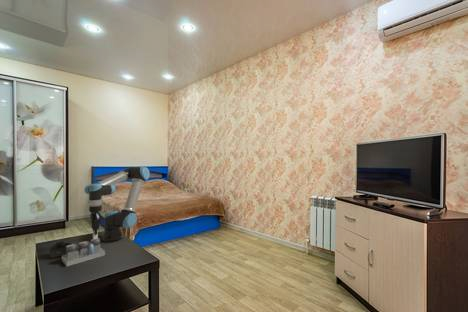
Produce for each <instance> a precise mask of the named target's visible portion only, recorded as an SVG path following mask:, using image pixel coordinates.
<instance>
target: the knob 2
mask: <svg viewBox="0 0 468 312" xmlns="http://www.w3.org/2000/svg"><path fill="white" fill-rule="evenodd" d="M99 243H100V244H101V238H100V237H98V239H94V240H93V238H92V239H90V244H93V245H97V244H99Z"/></svg>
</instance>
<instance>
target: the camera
mask: <svg viewBox="0 0 468 312" xmlns="http://www.w3.org/2000/svg"><path fill="white" fill-rule="evenodd" d="M70 244H73V242H68V241H66V242H65V241H63V240H58V241H56V242H55V244H54V245H52V246H51V247H50V249H49V258H51V259H53V258H58V257H59V258H60V257H62V255H66V246H68V245H70Z"/></svg>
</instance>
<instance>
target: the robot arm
mask: <svg viewBox="0 0 468 312" xmlns="http://www.w3.org/2000/svg"><path fill="white" fill-rule="evenodd" d="M150 176H151V173H150V170H149V168H148V167H147V166H131V167H128V168H125V169H122V170H120V171H119V172H118V173H116V174H114V175H111V176H110V177H107V178H105V179H101V180H100V181H99V182H95V183H91V184H88V185H85V187H84V193H85V194H86V195H88V196H89V197H88V199H89V200H88V203H89V206H88V211H89V212H90V213H91V214H90V222H91V228H92V229H91V230H92V239H93V240H94V239H98V238H99V237H98V236H99V235H98V234H99V231H98V230H100V221H101V216H100V212H101V211H102V210H103V209H102V204H103V203H102V201H103V199H102V198H103V196H110V195H114V194H115V193H116V186H115V185H117V184H119V183H121V182H125V181H128V180H129V181H130V180H131V181H132V184H131V185H130V189H129V192H128V195H127V198H126V201H125V204H124V207H123V208H122V209H121V210H119V209H118V210H111V211H108V212H105V214H104V217H103V220H104V231H103V234H102V236H101V240H102V241H103V242H114V241H118V240H120V239H122V238H123V232H122V229H121V228H132V227H134V225H136V223H137V221H138V215H137V214H136V213H137V212H136V208H137V203H138V201H139V197H140V193H141V191H142V187H143V185H144V184H145V183H146V181H147V180H149V178H150Z"/></svg>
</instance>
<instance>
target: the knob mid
mask: <svg viewBox="0 0 468 312" xmlns="http://www.w3.org/2000/svg"><path fill="white" fill-rule="evenodd" d="M89 241H90V240H89ZM89 241H88V240H86V241H85V240H84V241H80V242H79V243H78V249H79V248H80V249H83V248H87V247H89V245H90V242H89Z"/></svg>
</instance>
